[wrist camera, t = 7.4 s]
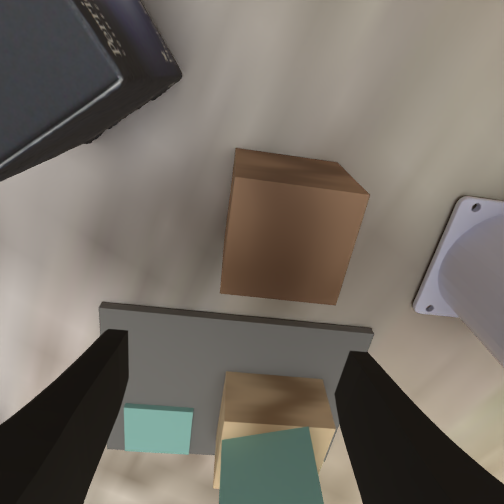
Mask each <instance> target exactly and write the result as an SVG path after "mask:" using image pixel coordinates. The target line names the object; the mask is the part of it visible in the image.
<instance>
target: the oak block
mask: <svg viewBox="0 0 504 504" xmlns="http://www.w3.org/2000/svg"><path fill="white" fill-rule="evenodd" d="M307 426H309V431H310V436H311V441H312V446H313V451H314V456H315V461H316V466H317V472H318V474H319V472H320V469H321V466H322V464H323V461H324V459H325V456H326V453H327V451H328V448H329V446H330V443H331V440H332V438H333V435H334V433H335V430H336V427H335V424H334V420H333V416H332V413H331V409H330V405H329V401H328V398H327V394H326V390H325V387H324V383H323V379H314V378H302V377H290V376H277V375H265V374H253V373H241V372H228V371H226V376H225V382H224V389H223V395H222V402H221V408H220V414H219V421H218V427H217V434H216V448H215V464H214V481H213V488H215V489H220V470H221V447H222V440H224V439H230V438H237V437H243V436H250V435H256V434H262V433H269V432H275V431H282V430H288V429H294V428H301V427H307Z"/></svg>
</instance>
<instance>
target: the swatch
mask: <svg viewBox="0 0 504 504" xmlns="http://www.w3.org/2000/svg"><path fill="white" fill-rule="evenodd" d="M193 409H194V408H187V407H173V406H159V405H145V404H131V403H125V406H124V434H125V451H135V452H153V453H170V454H187V455H189V447H190V438H191V428H192V419H193Z"/></svg>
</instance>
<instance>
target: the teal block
mask: <svg viewBox="0 0 504 504" xmlns="http://www.w3.org/2000/svg"><path fill="white" fill-rule="evenodd" d="M219 504H324V502H323V497H322V492H321V487H320V482H319V477H318V472H317V466H316V461H315V456H314V451H313V446H312V441H311V436H310V431H309V426H307V427H301V428H294V429H288V430H282V431H275V432H269V433H262V434H256V435H250V436H243V437H237V438H230V439H224V440H222V447H221V470H220V492H219Z"/></svg>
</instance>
